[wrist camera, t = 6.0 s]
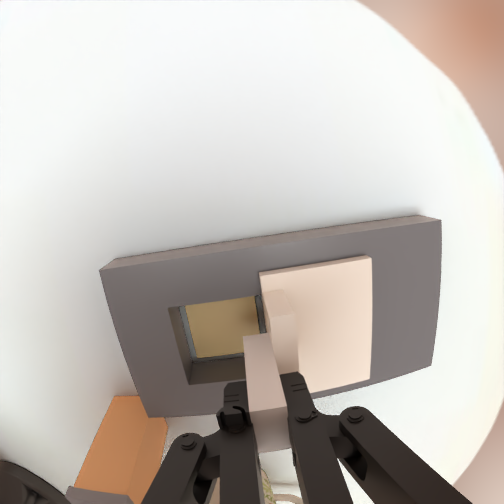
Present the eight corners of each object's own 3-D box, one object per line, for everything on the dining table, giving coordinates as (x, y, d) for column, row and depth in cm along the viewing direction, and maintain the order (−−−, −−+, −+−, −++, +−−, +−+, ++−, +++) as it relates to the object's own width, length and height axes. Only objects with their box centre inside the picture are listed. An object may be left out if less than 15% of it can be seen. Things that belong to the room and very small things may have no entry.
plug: (127, 429, 24) (95, 527, 13) (111, 394, 23) (64, 496, 12) (170, 428, 25) (151, 536, 13) (156, 393, 24) (124, 507, 12)
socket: (155, 395, 24) (148, 417, 21) (114, 259, 21) (98, 270, 18) (414, 349, 24) (431, 365, 21) (419, 215, 22) (441, 220, 19)
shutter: (275, 392, 20) (283, 433, 16) (258, 272, 18) (266, 298, 14) (365, 373, 21) (388, 407, 17) (366, 255, 19) (399, 274, 15)
